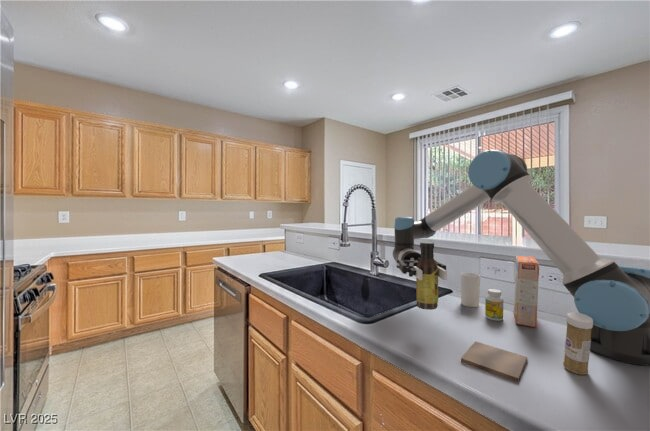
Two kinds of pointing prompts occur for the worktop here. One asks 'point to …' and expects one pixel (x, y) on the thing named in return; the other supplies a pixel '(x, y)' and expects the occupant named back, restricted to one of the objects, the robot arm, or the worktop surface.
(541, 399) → the worktop surface
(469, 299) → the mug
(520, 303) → the cracker box
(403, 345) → the worktop surface
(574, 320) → the sprinkles bottle
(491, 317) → the supplement bottle
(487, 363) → the coaster board
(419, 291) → the sauce bottle
